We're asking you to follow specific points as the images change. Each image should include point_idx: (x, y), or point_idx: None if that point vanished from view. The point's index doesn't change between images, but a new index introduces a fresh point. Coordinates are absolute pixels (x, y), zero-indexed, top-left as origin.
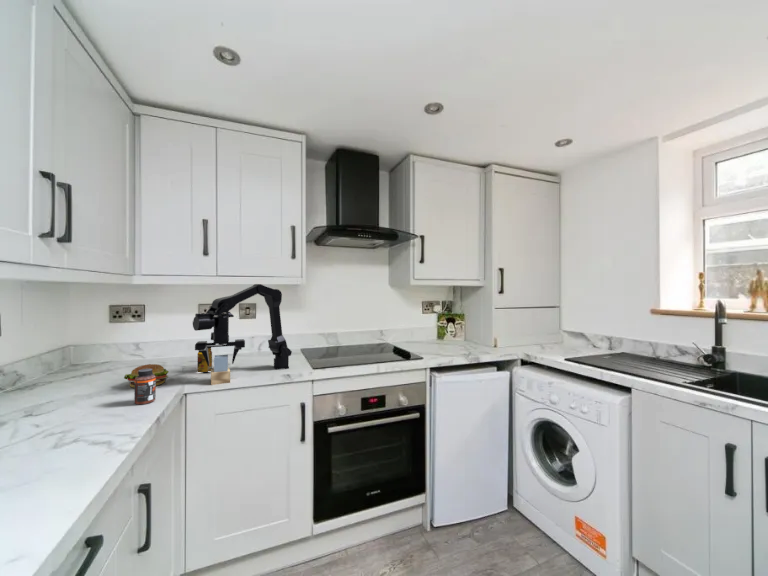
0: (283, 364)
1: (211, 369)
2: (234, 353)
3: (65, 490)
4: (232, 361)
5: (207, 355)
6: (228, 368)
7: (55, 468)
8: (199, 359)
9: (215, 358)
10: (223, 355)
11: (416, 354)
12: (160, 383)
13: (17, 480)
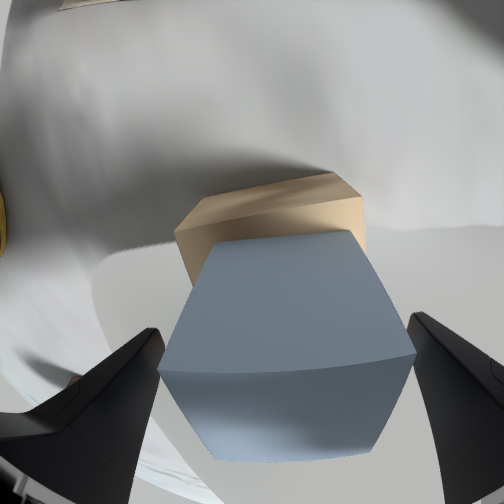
0: None
1: (179, 237)
2: (449, 460)
3: (198, 496)
4: (415, 365)
5: (134, 470)
6: (357, 239)
7: (162, 482)
8: None
9: (230, 453)
10: (328, 404)
11: None
12: (4, 229)
13: (148, 481)
